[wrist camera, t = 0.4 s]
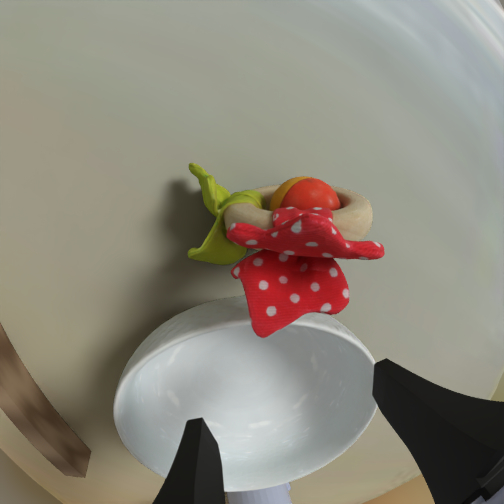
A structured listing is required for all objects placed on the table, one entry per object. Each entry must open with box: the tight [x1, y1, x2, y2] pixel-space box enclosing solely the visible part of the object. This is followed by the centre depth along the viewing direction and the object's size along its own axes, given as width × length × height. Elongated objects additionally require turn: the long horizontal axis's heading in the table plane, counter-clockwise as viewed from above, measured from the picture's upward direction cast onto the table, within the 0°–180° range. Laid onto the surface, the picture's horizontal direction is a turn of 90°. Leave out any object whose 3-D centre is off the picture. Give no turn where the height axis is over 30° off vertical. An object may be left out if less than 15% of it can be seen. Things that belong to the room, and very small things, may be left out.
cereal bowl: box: [113, 295, 378, 492], centre depth 18 cm, size 17×17×7 cm
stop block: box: [0, 323, 91, 478], centre depth 17 cm, size 18×3×4 cm, turn 12°
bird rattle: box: [188, 163, 384, 338], centre depth 13 cm, size 6×11×9 cm
